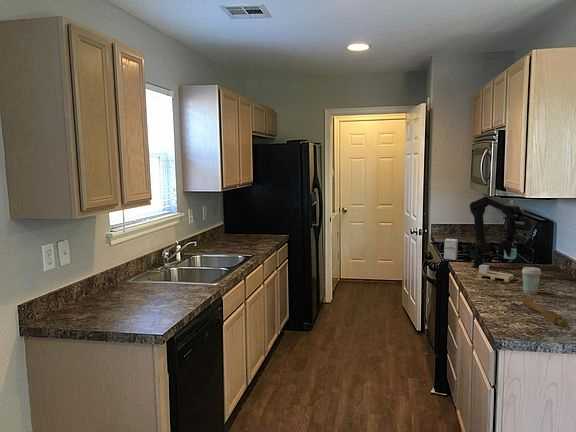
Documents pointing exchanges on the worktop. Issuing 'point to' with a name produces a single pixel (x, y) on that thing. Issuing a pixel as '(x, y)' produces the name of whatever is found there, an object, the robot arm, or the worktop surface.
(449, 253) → the supplement box
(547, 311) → the tap handle
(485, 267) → the gray cube
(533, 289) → the coffee cup
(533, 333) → the worktop surface
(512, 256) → the teal cube box
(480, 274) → the pallet dock
